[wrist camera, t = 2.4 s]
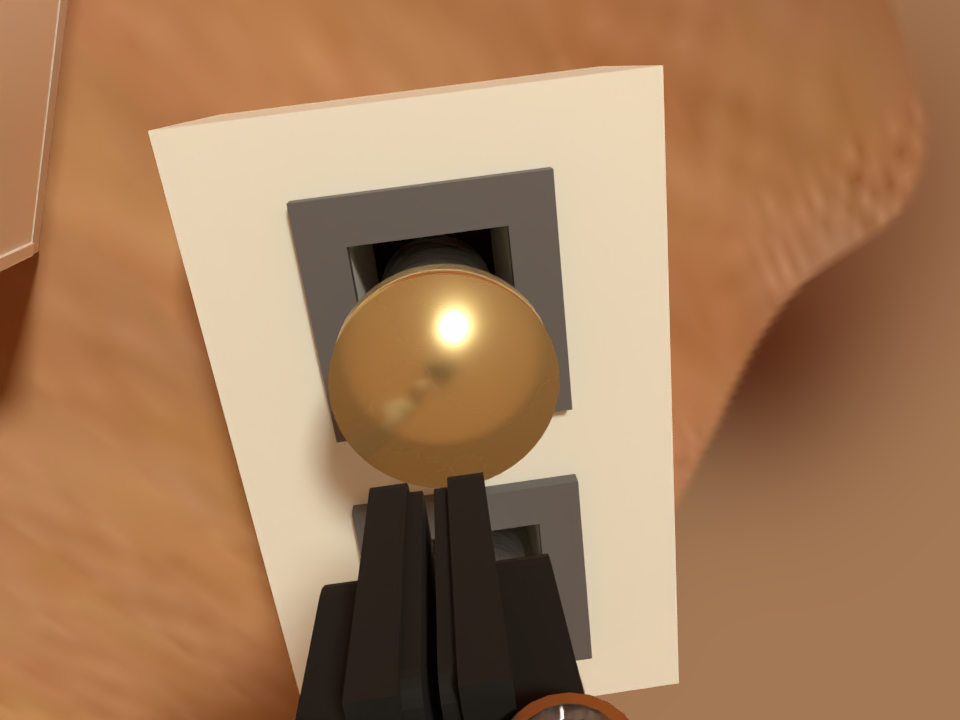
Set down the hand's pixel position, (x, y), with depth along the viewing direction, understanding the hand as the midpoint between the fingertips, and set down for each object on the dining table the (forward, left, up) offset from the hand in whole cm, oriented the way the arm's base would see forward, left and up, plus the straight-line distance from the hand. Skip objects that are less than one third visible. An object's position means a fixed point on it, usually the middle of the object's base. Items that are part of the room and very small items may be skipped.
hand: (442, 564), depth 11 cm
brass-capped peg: (0, 0, -14) cm, 14 cm away
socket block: (-5, 0, -20) cm, 20 cm away
